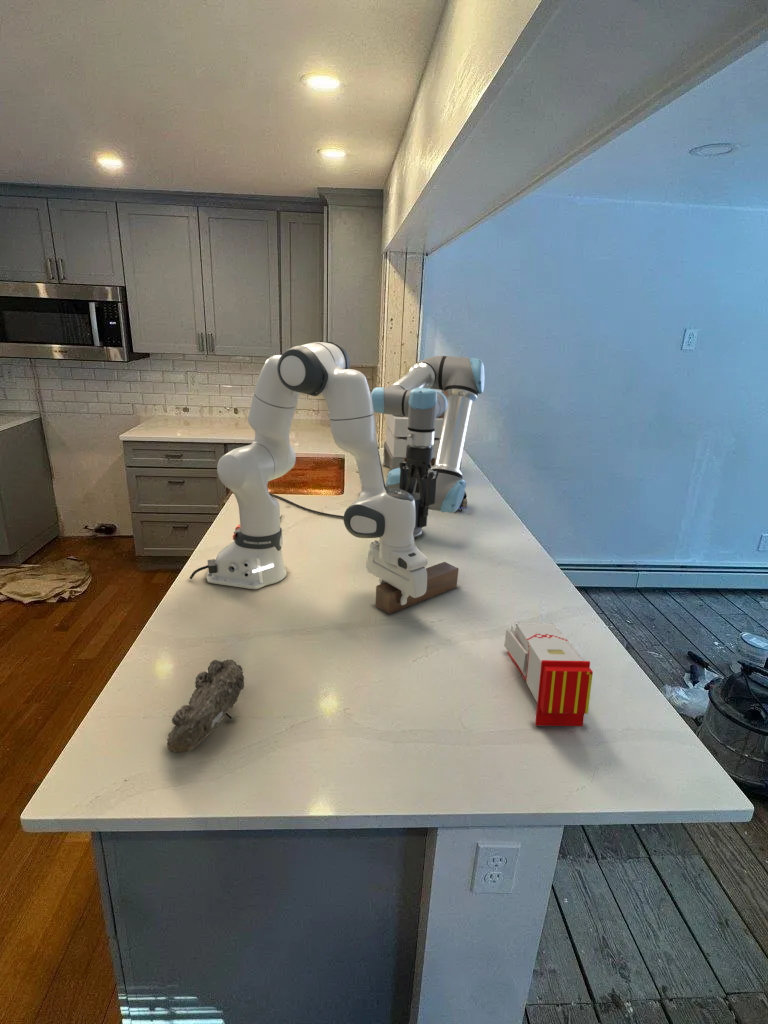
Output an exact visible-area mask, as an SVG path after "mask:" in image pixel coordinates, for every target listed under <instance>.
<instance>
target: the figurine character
mask: <svg viewBox="0 0 768 1024" xmlns="http://www.w3.org/2000/svg"><path fill="white" fill-rule="evenodd" d="M467 495H468V494H467V493H466V491H465V493H464V497H463V500H462V502H461V505H460V507H459V508H458V510H460V512H463V509H464V508H465V509H466V508H467V506H468V499H467V497H468V496H467Z"/></svg>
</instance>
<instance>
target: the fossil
mask: <svg viewBox="0 0 768 1024" xmlns="http://www.w3.org/2000/svg"><path fill="white" fill-rule="evenodd" d="M243 670H244V669H243V667H242V665H240V664H237V662H236V661H235V660H234V659H232V658H231V659H227V658H226V659H224V660H223V661H222V660H217V659H212V660H211V661H210V663H209V665H208V666H207V671H201V672H199V673H198V674H197V675H196V676H195V680H194V684H195V685H194V687H195V689H194V690H193V693H192V694H191V697H190V698H189V700H188V704H184V705H182V706H181V707H180V709H177V710H176V711H175V713H174V715H173V716H172V718H171V723H172V724H173V727H172V730H171V731H170V732H168V734H167V738H166V741H167V742H166V745H167V749H168V750H169V751H173V752H174V753H176V754H178V753H182V752H188V751H189V752H192V751H193V750H195V748H196V747H197V746H199V744H200V743H201V742H203V741H204V740H205V739H206V738H207V737H208V736H209V735H210V734H211V733H212V732H214V730H215V729H217V727H218V726H219V724H220V722H221V721H222V720H223V719H224V718H225V716H226V717H227V719H229V720H233V717H232V715H230V714H229V710H230V709H231V708H234V706H235V704H236V703H237V702H238V699H239V697H240V695H241V693H242V691H243V690H245V689H244V688H245V675H244V671H243Z"/></svg>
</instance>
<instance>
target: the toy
mask: <svg viewBox="0 0 768 1024" xmlns="http://www.w3.org/2000/svg"><path fill="white" fill-rule="evenodd" d="M503 645H504V647H505V649H506V650H507V655H508V656H509V658H510V659H511V662H513V664H514V666H515V667H516V669H517V670H518V672H519V673H520V675H521V676H522V679H523V680H524V681H525V683H526V686H527V687H528V689H529V690H530V693H531V694H532V696H533V698H534V700H535V701H536V703H537V704H536V714H535V722H534V723H535V726H537V727H541V726H542V727H583V726H584V719H585V715H586V714H587V715H588V714H589V706H590V705H589V704H590V699H591V691H592V683H593V682H592V681H593V674H594V673H593V672H594V671H593V670H592V669H591V668H590V667H591V661H590V660H584V659H583V658H582V657H581V655H580V654H579V653H578V651H577V650H576V649H575V648H574V647H573V645H572V644H571V643H570V642H569V640H568V639H567V638H566V636H564V633H562V632H561V630H560V629H559V628H558V627H557V625H556V624H555V623H553V622H515V624H511V625H510V628H506V630H505V638H504V644H503Z"/></svg>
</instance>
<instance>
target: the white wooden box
mask: <svg viewBox="0 0 768 1024" xmlns="http://www.w3.org/2000/svg"><path fill="white" fill-rule="evenodd" d="M440 392H441V393H443V394H444V390H441V391H440ZM443 417H444V413H443V414H442V416H440V417H438V418H436V419H435V431H434V444H433V445H432V447H433V458H432V460H431V462H430V465H431V467H432V466H434V464H435V459H436V454H437V449H438V443H439V438H440V433H441V428H442V423H443ZM385 423H386V428H385V438H384V442H383V466H384V467H388V468H389V472H390V471H391V470H393V469H397V468H400V465H399V464H400V463H401V462H407V460H408V459H407V458H406V446H407V445H409V444H408V443H407V431H408V416H401V415H391V414H385ZM462 461H463V460H462V457H461V462H460V468H459V470H460V472H461V473H462Z"/></svg>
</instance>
